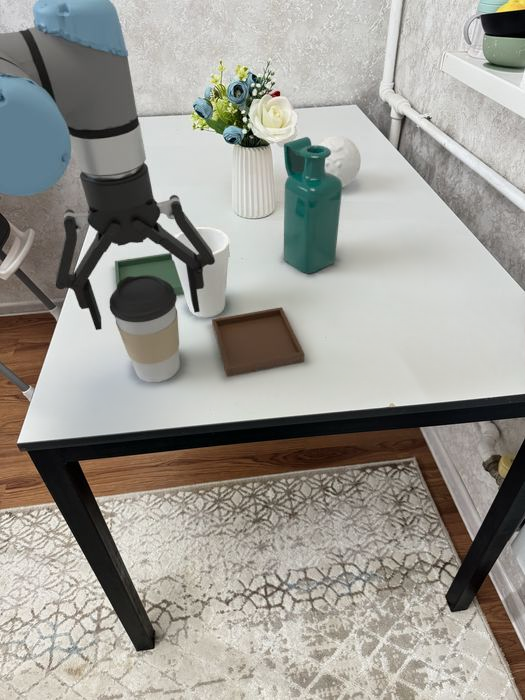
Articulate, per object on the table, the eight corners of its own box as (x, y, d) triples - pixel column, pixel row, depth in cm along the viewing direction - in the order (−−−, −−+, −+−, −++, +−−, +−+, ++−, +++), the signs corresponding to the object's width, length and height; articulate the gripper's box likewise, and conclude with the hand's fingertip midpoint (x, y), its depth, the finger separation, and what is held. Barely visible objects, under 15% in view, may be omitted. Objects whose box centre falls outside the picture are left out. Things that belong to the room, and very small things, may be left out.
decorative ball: (305, 194, 119) (308, 144, 111) (313, 175, 128) (316, 127, 120) (355, 199, 117) (361, 148, 109) (359, 178, 126) (365, 130, 117)
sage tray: (119, 304, 88) (117, 296, 87) (116, 268, 96) (114, 260, 95) (186, 293, 90) (185, 285, 89) (178, 259, 99) (177, 251, 97)
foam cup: (238, 293, 90) (234, 229, 81) (228, 325, 83) (222, 259, 74) (187, 289, 91) (178, 225, 82) (173, 320, 84) (162, 254, 75)
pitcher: (339, 262, 97) (351, 149, 82) (307, 277, 93) (313, 161, 78) (306, 242, 103) (312, 133, 88) (275, 255, 99) (275, 144, 84)
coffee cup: (198, 359, 77) (187, 280, 67) (160, 396, 71) (141, 315, 61) (155, 339, 80) (138, 261, 70) (115, 373, 75) (91, 293, 65)
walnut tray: (227, 376, 74) (226, 368, 73) (212, 327, 83) (211, 319, 81) (303, 361, 76) (304, 353, 75) (281, 314, 85) (281, 307, 84)
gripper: (216, 141, 59) (228, 285, 74) (-1, 167, 55) (57, 314, 70) (229, 165, 54) (239, 315, 68) (-11, 195, 50) (54, 348, 64)
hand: (148, 315), depth 69 cm, fingers open, 13 cm apart
